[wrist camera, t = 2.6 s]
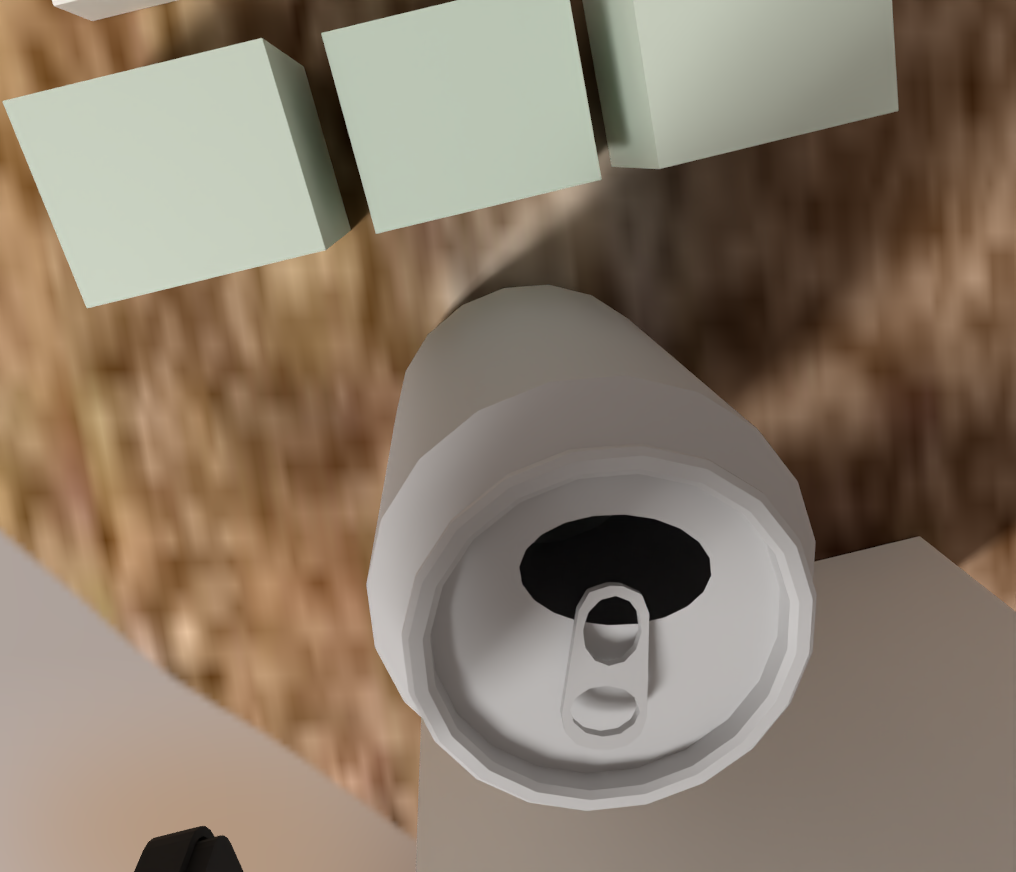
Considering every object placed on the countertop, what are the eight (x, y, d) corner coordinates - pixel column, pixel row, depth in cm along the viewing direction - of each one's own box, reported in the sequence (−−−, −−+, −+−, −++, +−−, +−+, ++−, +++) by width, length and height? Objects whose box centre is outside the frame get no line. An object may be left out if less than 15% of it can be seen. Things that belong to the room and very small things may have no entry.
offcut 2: (581, -1, 20) (625, -50, 15) (780, -50, 20) (885, -114, 15) (611, 166, 21) (659, 169, 16) (797, 121, 21) (898, 110, 16)
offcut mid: (344, 56, 20) (320, 32, 16) (542, 9, 20) (565, -26, 16) (388, 220, 21) (375, 233, 17) (573, 176, 21) (601, 179, 17)
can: (678, 290, 22) (923, 426, 11) (639, 537, 25) (808, 857, 13) (404, 268, 22) (365, 389, 10) (392, 524, 24) (347, 853, 13)
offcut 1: (106, 115, 20) (2, 101, 15) (304, 66, 20) (261, 38, 15) (165, 275, 21) (86, 308, 16) (350, 229, 21) (325, 250, 16)
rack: (75, -26, 19) (-792, -463, 6) (872, -221, 19) (1893, -1121, 6) (348, 730, 26) (254, 1316, 13) (922, 590, 26) (1418, 1034, 13)
